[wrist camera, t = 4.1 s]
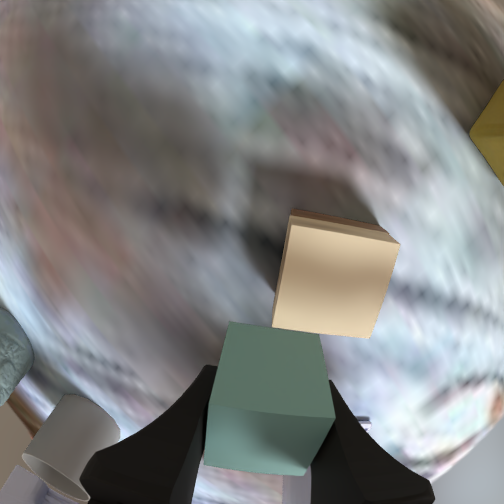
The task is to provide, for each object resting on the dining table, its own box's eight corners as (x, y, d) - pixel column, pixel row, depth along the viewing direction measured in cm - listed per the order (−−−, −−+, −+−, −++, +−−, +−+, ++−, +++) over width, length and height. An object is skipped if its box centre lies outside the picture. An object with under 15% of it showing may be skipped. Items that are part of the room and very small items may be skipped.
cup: (105, 447, 30) (77, 503, 21) (54, 408, 29) (18, 460, 19) (131, 429, 28) (100, 497, 18) (72, 384, 26) (27, 446, 17)
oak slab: (361, 319, 19) (369, 338, 17) (272, 307, 19) (271, 326, 17) (386, 232, 17) (400, 244, 15) (289, 215, 17) (291, 224, 15)
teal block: (298, 396, 14) (303, 476, 10) (220, 385, 14) (203, 464, 10) (318, 334, 13) (335, 418, 8) (229, 321, 13) (209, 403, 8)
